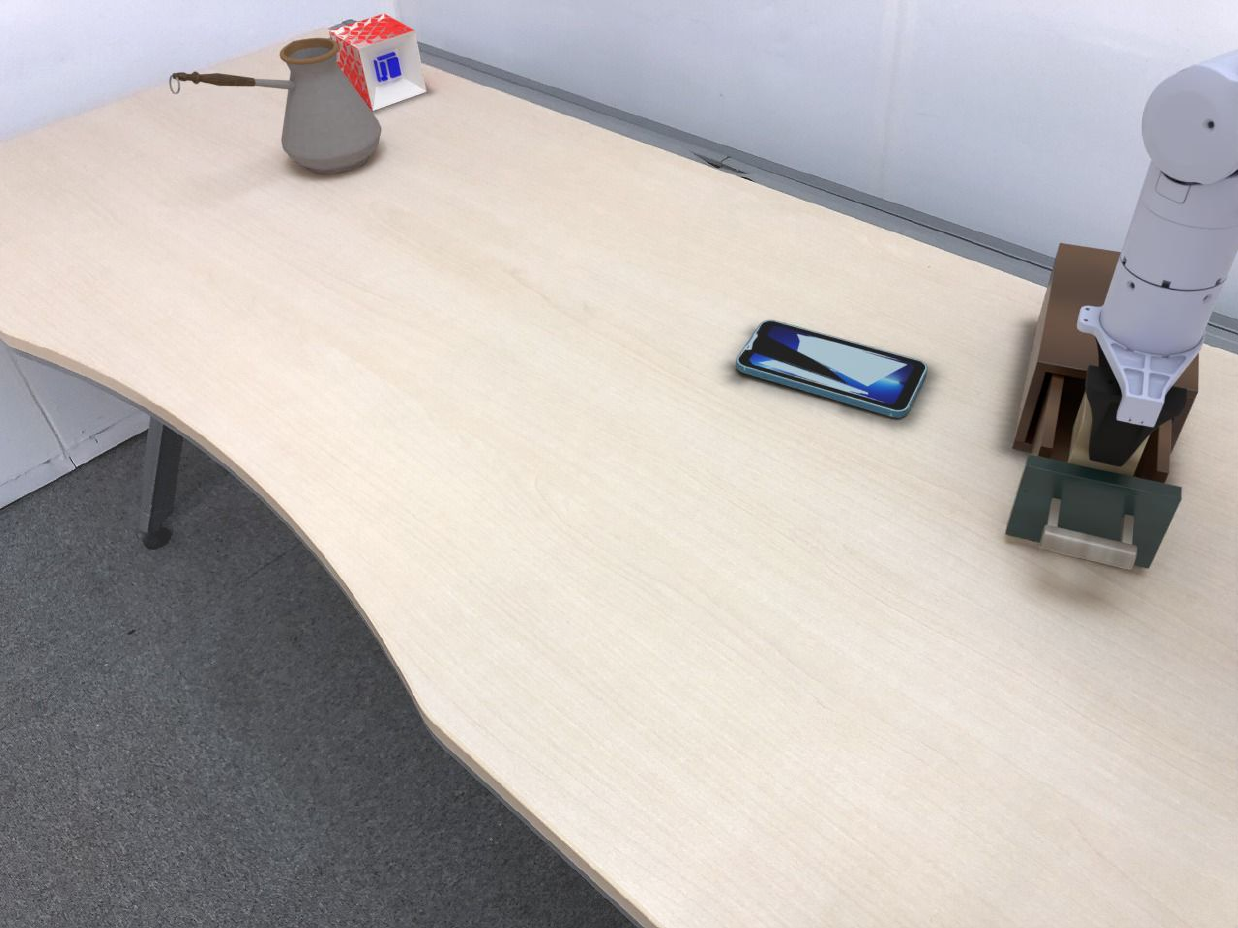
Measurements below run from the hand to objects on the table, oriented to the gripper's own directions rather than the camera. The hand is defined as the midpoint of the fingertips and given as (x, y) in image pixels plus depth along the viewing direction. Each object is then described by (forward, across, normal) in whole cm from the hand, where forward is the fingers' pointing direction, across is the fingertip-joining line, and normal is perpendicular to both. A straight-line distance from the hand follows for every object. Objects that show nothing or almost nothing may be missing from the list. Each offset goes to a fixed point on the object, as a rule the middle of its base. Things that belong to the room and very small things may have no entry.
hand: (1108, 437), depth 68 cm
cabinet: (+8, -14, 0) cm, 17 cm away
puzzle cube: (+8, -49, -89) cm, 102 cm away
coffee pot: (+8, -27, -87) cm, 91 cm away
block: (+1, 0, 0) cm, 1 cm away
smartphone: (+8, -11, -21) cm, 25 cm away
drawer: (+7, -2, 0) cm, 7 cm away
